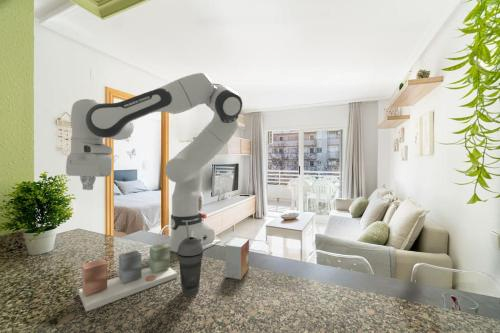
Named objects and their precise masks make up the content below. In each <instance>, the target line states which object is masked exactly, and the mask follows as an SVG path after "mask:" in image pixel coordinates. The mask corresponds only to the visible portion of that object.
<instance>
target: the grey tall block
mask: <svg viewBox="0 0 500 333" xmlns="http://www.w3.org/2000/svg"><path fill="white" fill-rule="evenodd" d="M141 270H142V253H140V252H139V251H138V250H133V251H129V252H125V253H122V254H118V277H119V278H120V280H121V281H122V282H123V283H125V282H128V281H131V280H134V279H137V278H140V277H141Z"/></svg>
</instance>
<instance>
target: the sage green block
mask: <svg viewBox="0 0 500 333" xmlns="http://www.w3.org/2000/svg"><path fill="white" fill-rule="evenodd" d="M149 267H150V269H151V270H152V271H153V272H158V271H161V270H164V269H167V268H171V250H170V246H169V244H167V243H161V244H157V245H153V246H149Z"/></svg>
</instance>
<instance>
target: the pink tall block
mask: <svg viewBox="0 0 500 333" xmlns="http://www.w3.org/2000/svg"><path fill="white" fill-rule="evenodd" d="M81 266H82V267H81V274H82V276H81V278H82V282H81V283H82V287H81V288H83V292H84V294H85V296H87V295H90V294H93V293H96V292H99V291H102V290H105V289H107V280H108V263H107V262H106V260H105V259H104V258H101V259H98V260H97V259H96V260H94V261H89V262H86V263H83V264H81Z"/></svg>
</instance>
